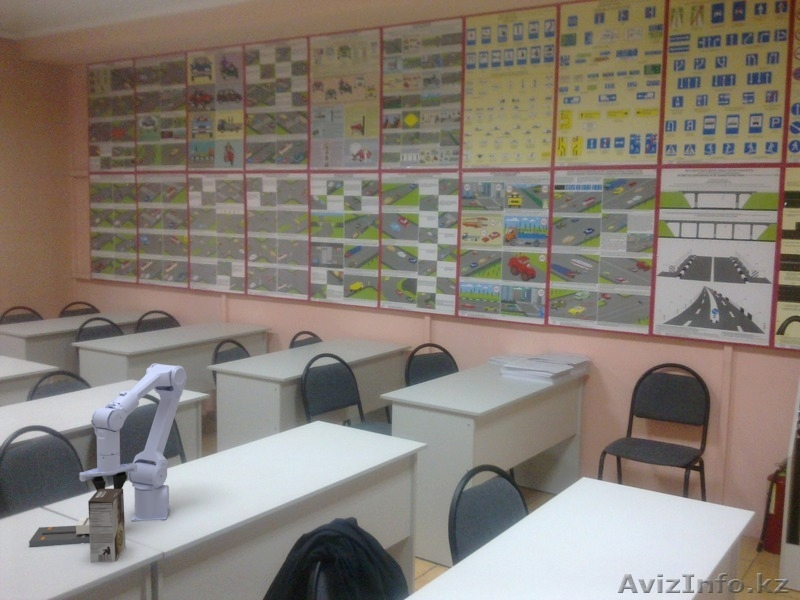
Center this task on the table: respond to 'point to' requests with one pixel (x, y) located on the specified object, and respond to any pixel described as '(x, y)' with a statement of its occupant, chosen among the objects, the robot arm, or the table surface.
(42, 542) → the fader panel
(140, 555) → the table surface
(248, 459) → the table surface
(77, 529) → the fader knob
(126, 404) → the robot arm
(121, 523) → the coffee box
